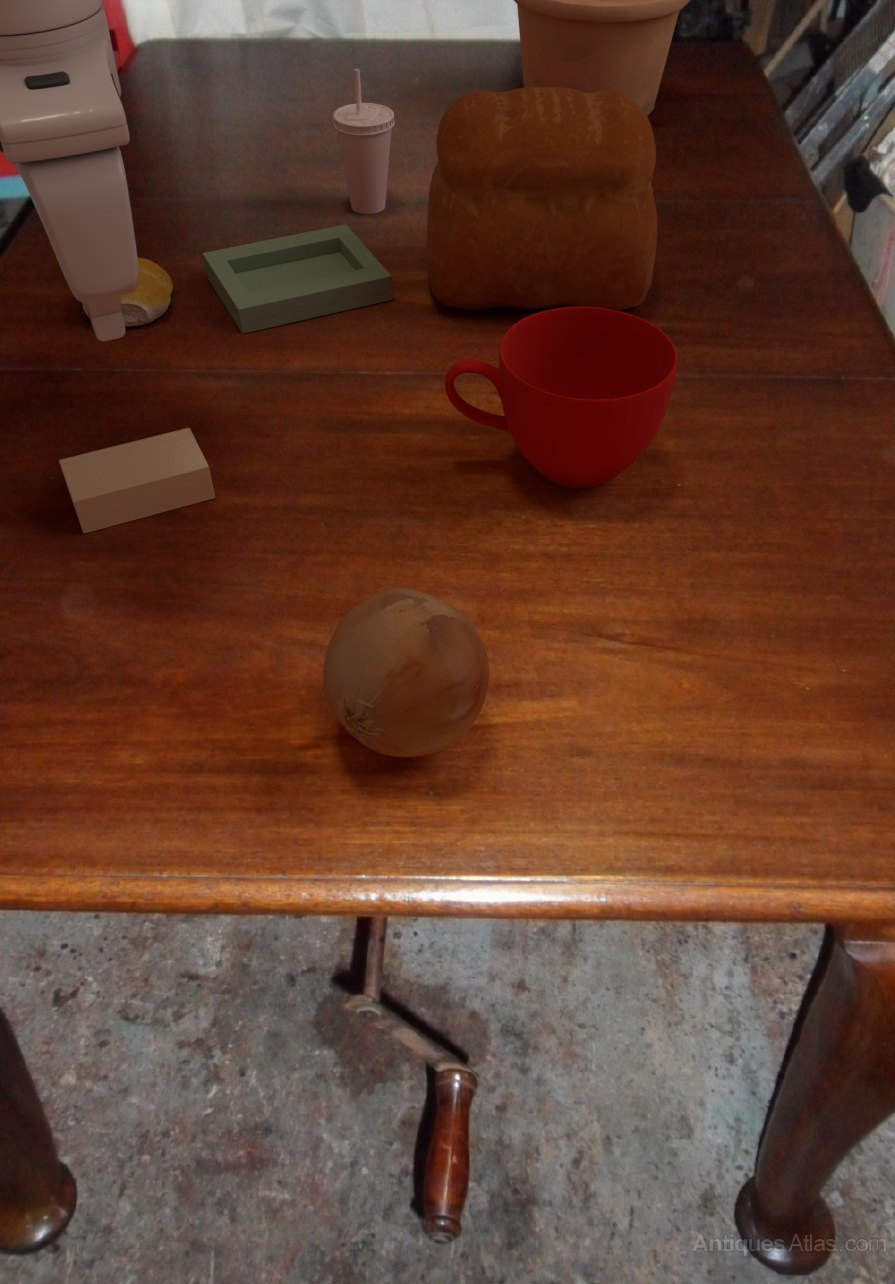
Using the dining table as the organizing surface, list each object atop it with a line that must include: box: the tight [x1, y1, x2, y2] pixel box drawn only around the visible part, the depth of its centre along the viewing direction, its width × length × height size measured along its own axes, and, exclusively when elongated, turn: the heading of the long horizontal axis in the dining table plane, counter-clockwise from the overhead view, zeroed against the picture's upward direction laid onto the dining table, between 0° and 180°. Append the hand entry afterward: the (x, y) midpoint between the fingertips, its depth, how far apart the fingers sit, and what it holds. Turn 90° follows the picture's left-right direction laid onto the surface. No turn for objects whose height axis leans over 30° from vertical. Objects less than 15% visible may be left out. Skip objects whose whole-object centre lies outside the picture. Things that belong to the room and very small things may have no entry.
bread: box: [426, 87, 658, 311], centre depth 99 cm, size 18×22×17 cm
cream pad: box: [58, 427, 216, 535], centre depth 80 cm, size 10×6×3 cm, turn 115°
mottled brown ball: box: [322, 587, 490, 758], centre depth 62 cm, size 10×10×10 cm
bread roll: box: [81, 256, 174, 328], centre depth 100 cm, size 8×9×4 cm
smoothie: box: [332, 68, 396, 215], centre depth 111 cm, size 6×6×14 cm
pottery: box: [513, 0, 691, 117], centre depth 132 cm, size 22×22×14 cm
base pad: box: [202, 224, 393, 335], centre depth 103 cm, size 15×12×2 cm
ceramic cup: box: [444, 306, 679, 489], centre depth 81 cm, size 13×17×10 cm
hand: (94, 300), depth 69 cm, fingers open, 8 cm apart
